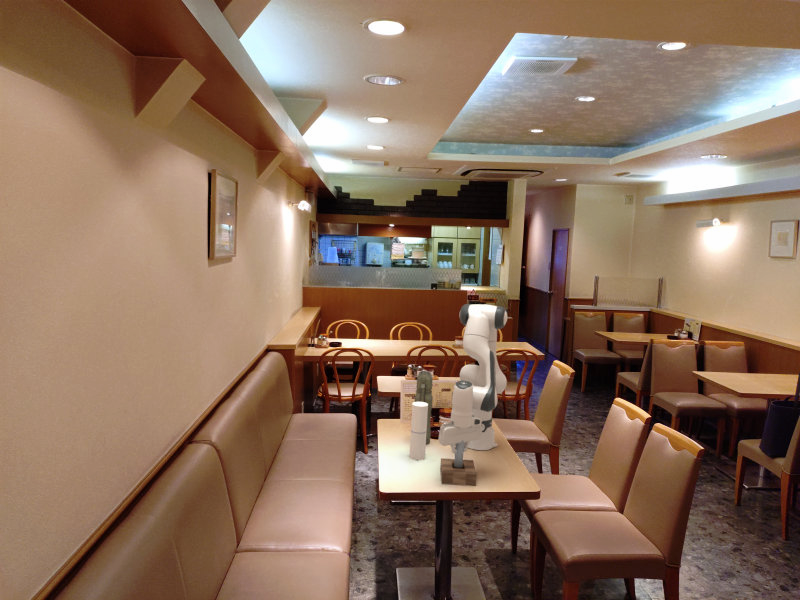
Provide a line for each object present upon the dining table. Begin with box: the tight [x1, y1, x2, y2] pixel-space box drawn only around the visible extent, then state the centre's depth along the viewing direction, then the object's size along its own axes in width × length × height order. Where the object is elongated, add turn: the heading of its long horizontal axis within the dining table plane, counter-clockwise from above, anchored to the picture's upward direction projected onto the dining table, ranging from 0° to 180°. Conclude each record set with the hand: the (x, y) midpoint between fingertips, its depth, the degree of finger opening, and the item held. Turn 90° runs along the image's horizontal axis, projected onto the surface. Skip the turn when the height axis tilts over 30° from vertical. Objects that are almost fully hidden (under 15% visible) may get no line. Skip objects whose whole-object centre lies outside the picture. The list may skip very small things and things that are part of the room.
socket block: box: [439, 458, 478, 487], centre depth 230 cm, size 14×14×5 cm
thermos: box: [414, 370, 434, 446], centre depth 266 cm, size 9×12×35 cm
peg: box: [453, 440, 465, 468], centre depth 228 cm, size 4×4×12 cm
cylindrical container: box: [409, 401, 428, 461], centre depth 248 cm, size 7×7×25 cm
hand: (459, 452), depth 228 cm, fingers closed on peg, 4 cm apart
